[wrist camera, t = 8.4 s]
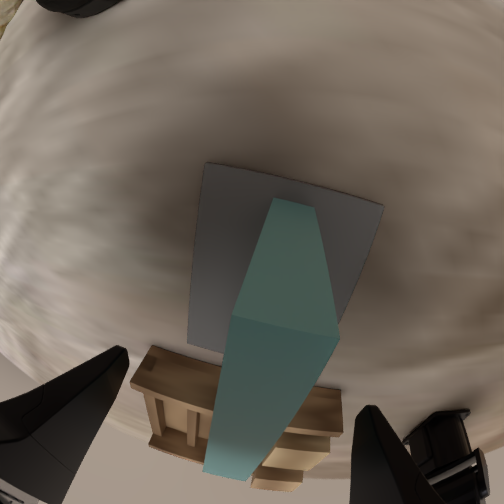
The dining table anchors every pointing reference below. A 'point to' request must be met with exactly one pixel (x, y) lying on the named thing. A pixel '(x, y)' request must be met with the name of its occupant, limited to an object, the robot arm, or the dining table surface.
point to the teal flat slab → (272, 341)
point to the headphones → (77, 6)
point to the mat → (247, 235)
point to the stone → (7, 12)
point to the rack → (210, 404)
